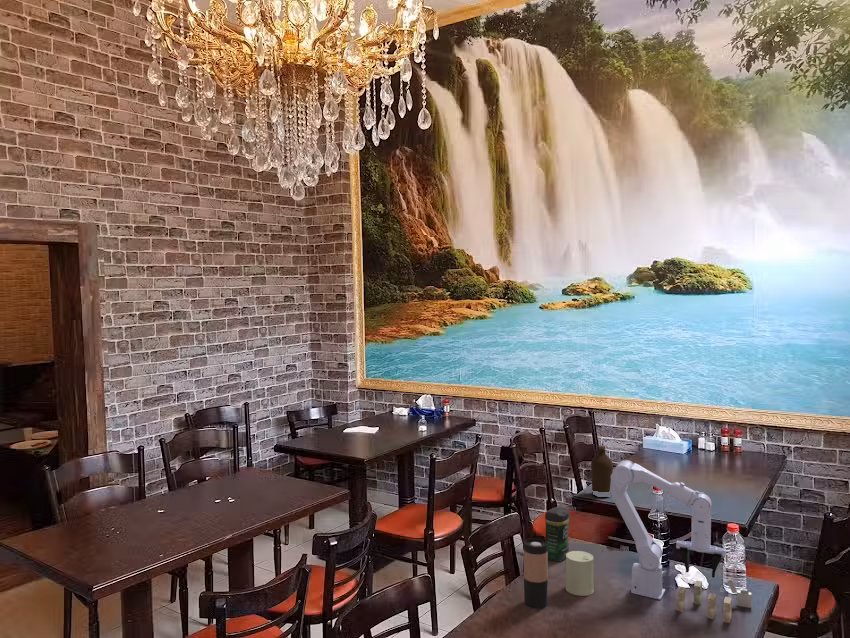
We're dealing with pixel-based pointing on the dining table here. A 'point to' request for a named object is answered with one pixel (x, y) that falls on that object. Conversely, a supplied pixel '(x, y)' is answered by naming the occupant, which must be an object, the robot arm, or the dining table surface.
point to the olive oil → (601, 471)
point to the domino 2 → (698, 592)
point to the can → (579, 573)
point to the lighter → (740, 595)
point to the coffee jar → (557, 533)
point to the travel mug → (535, 573)
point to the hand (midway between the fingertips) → (700, 573)
